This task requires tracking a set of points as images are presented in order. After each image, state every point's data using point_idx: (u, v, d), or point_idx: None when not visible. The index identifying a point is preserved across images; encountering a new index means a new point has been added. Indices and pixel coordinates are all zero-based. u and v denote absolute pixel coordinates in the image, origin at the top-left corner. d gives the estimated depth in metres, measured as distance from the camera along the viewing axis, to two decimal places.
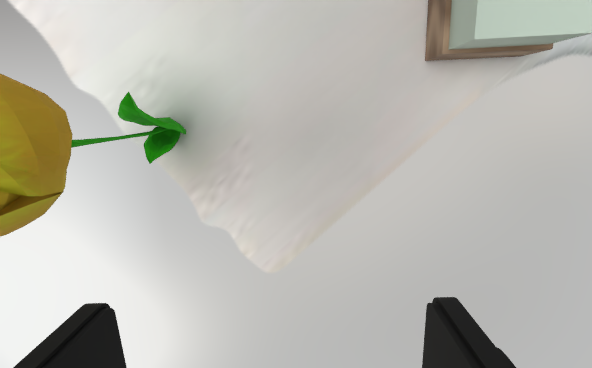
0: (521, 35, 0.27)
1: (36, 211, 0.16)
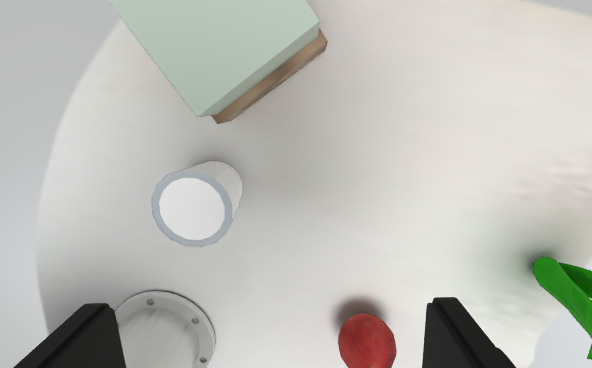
0: None
1: None
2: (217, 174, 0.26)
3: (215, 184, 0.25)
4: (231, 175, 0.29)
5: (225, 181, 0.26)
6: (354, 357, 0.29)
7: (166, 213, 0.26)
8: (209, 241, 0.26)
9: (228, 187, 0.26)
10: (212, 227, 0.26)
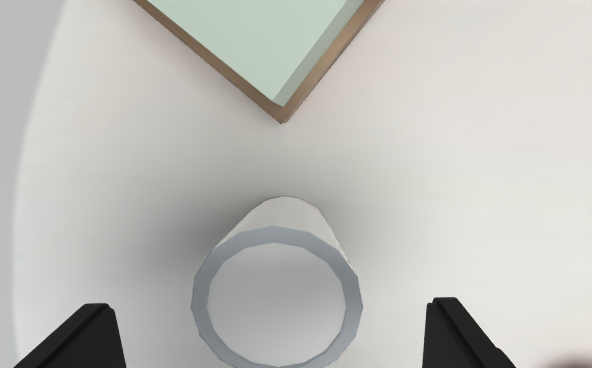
0: None
1: None
2: (304, 221, 0.13)
3: (314, 244, 0.12)
4: (316, 215, 0.16)
5: (322, 231, 0.13)
6: None
7: (226, 326, 0.12)
8: (324, 360, 0.13)
9: (334, 241, 0.13)
10: (324, 331, 0.12)
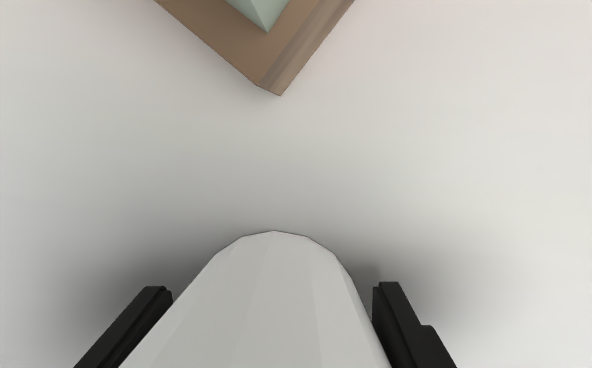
0: None
1: None
2: (313, 347, 0.05)
3: None
4: (334, 283, 0.08)
5: (359, 367, 0.05)
6: None
7: None
8: None
9: None
10: None
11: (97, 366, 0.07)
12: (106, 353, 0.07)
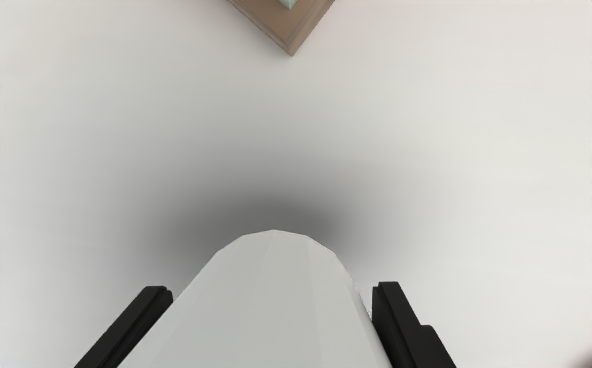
0: None
1: None
2: (313, 345, 0.05)
3: None
4: (334, 281, 0.08)
5: (359, 364, 0.05)
6: None
7: None
8: None
9: None
10: None
11: (97, 366, 0.07)
12: (106, 353, 0.07)
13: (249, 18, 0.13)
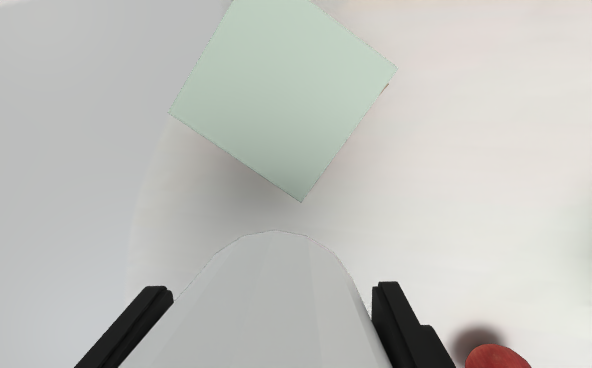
0: (341, 28, 0.18)
1: None
2: (313, 347, 0.05)
3: None
4: (334, 282, 0.08)
5: (359, 367, 0.05)
6: None
7: None
8: None
9: None
10: None
11: (98, 366, 0.07)
12: (107, 353, 0.07)
13: None
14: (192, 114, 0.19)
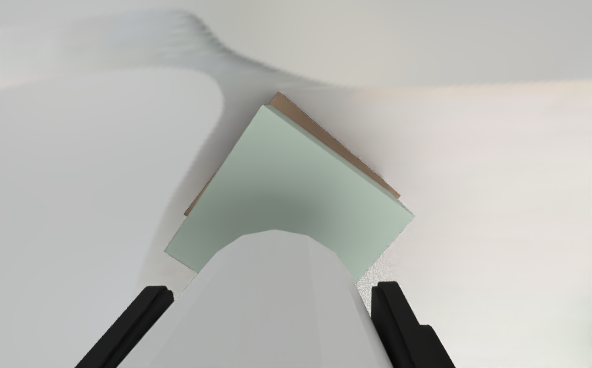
0: (354, 174, 0.16)
1: None
2: (313, 347, 0.05)
3: None
4: (335, 282, 0.08)
5: (360, 367, 0.05)
6: None
7: None
8: None
9: None
10: None
11: (99, 366, 0.07)
12: (108, 353, 0.07)
13: None
14: (190, 253, 0.18)
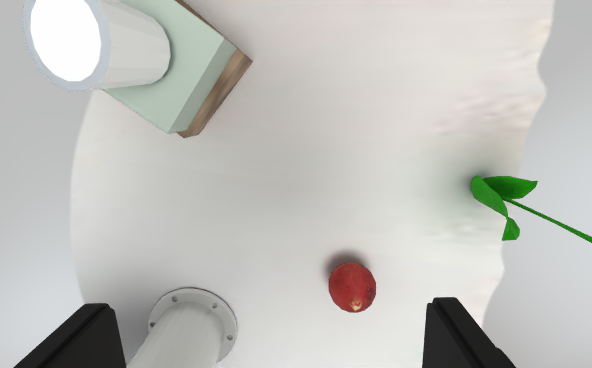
0: (183, 9, 0.26)
1: None
2: None
3: None
4: (139, 14, 0.23)
5: (110, 1, 0.20)
6: (339, 297, 0.36)
7: (40, 46, 0.20)
8: (91, 80, 0.20)
9: (109, 5, 0.19)
10: (91, 59, 0.20)
11: None
12: None
13: None
14: None
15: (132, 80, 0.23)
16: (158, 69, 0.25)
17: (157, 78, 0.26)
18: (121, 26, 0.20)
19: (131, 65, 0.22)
